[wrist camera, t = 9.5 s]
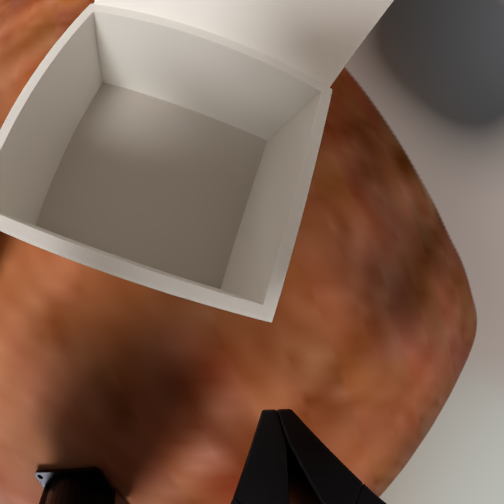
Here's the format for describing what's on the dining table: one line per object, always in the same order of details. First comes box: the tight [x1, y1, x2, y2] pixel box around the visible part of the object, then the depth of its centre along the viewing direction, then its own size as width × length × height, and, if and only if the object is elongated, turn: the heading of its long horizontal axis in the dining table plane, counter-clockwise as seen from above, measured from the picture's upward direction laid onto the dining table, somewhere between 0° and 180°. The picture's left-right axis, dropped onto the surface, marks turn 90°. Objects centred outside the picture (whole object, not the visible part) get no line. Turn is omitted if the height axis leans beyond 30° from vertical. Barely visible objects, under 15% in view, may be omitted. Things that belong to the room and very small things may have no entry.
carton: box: [0, 4, 333, 323], centre depth 14 cm, size 12×14×8 cm
